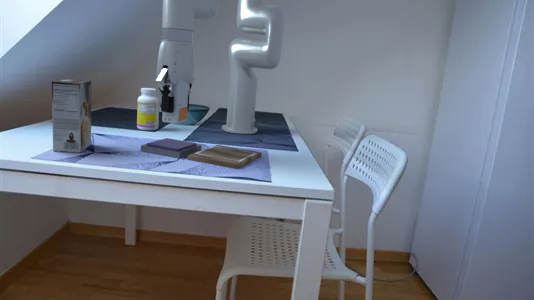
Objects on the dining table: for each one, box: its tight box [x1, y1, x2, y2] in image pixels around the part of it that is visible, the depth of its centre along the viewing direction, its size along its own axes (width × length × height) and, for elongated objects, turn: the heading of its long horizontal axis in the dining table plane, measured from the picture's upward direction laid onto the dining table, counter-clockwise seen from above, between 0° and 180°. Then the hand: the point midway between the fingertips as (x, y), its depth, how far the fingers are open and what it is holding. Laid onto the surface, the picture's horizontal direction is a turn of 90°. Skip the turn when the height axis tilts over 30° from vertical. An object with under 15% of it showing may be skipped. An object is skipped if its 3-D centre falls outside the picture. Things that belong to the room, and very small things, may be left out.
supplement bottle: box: [136, 87, 160, 131], centre depth 129 cm, size 7×7×13 cm
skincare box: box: [161, 75, 188, 125], centre depth 103 cm, size 6×4×12 cm
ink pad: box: [140, 137, 203, 159], centre depth 105 cm, size 11×11×2 cm
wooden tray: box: [187, 144, 263, 170], centre depth 103 cm, size 16×13×1 cm
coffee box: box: [51, 78, 92, 153], centre depth 97 cm, size 9×6×16 cm
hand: (175, 110), depth 103 cm, fingers closed on skincare box, 6 cm apart
